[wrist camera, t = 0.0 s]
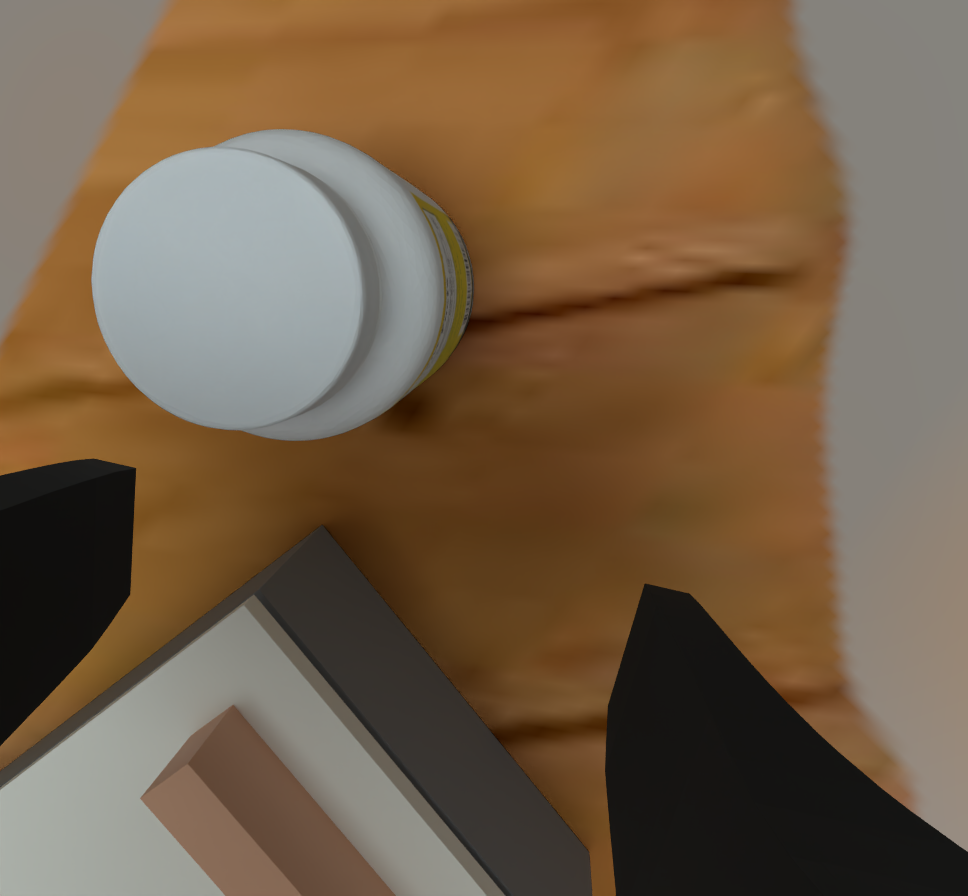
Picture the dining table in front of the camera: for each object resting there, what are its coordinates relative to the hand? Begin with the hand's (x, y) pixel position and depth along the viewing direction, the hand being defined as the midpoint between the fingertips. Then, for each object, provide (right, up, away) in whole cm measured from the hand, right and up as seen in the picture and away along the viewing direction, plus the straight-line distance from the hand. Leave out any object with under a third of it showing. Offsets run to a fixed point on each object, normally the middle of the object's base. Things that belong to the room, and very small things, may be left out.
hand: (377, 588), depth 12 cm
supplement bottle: (-1, +6, +10) cm, 12 cm away
